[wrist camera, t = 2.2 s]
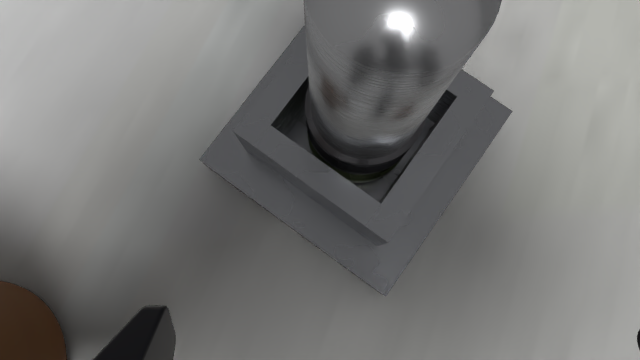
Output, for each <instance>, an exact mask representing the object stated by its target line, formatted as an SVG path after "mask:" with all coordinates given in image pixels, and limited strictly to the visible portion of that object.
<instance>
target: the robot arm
mask: <svg viewBox="0 0 640 360" xmlns="http://www.w3.org/2000/svg"><path fill="white" fill-rule="evenodd" d="M637 342H638V347H639V350H640V330H639V332H638V335H637ZM175 343H176V335H175V330H174V327H173V323H172V319H171V316H170V312H169V309H168V308H167V307H166V306H163V305H149V306H145V307H143V308H142V309H141V310H140V311H139V312H138V313H137V314H136V315H135V316H134V317H133V318H132V319H131V320H130V321H129V322H128V323H127V324H126V325H125V326H124V327H123V329H122V330H121V331H120V332H119V333H118V334H117V335H116V336H115V337H114V338H113V339H112V340H111V341H110V342H109V343H108V344H107V345H106V347H105V348H104V349H103V350H102V351H101V352H100V353H99V354H98V355H97V356H96V357H95V358H94V359H93V360H173V356H174V350H175Z"/></svg>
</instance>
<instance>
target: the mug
mask: <svg viewBox="0 0 640 360" xmlns="http://www.w3.org/2000/svg"><path fill="white" fill-rule="evenodd" d="M0 360H67V357H66V346H65V341H64V336H63V333H62V331H61V328H60V325H59V323H58V321H57V319H56V317H55V316H54V314H53V313H52V311H51V310H50V309H49V307H48V306H47V305H46V304H45V303H44V302H43V301H42V300H41V299H40V298H38V297H37V296H36V295H35V294H33V293H32V292H30V291H28V290H26V289H25V288H22V287H20V286H17V285H15V284H11V283H8V282H3V281H0Z"/></svg>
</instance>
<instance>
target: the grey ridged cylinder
mask: <svg viewBox="0 0 640 360" xmlns="http://www.w3.org/2000/svg"><path fill="white" fill-rule="evenodd" d="M501 1H502V0H304V12H305V28H306V44H307V60H308V76H309V85H308V88H307V91H306V97H305V114H306V124H307V134H308V142H309V147H310V150H311V152H312V154H313V156H315V157H316V158H318V159H319V160H320V161H322V162H323V163H325V164H326V165H327V166H329V167H330V168H332V169H333V170H334V171H336V172H337V173H339V174H340V175H341V176H343V177H344V178H346V179H347V180H349V181H350V182H352V183H364V182H370V181H374V180H376V179H379V178H381V177H383V176H385V175H386V174H388V173H389V172H390V171H392V170H393V169H394V168H395V167H396V165H397V164H398V163H399V162H400V161H401V159H402V158H403V157H404V155H405V154H406V153H407V152H408V150H409V149H410V148H411V146H412V145H413V144H414V143H415V141H416V140H417V139H418V137H419V135H420V134H421V132H422V130H423V127H424V124H425V121H426V117H427V115H428V114H429V113H430V111H431V110H432V109H433V107H434V106H435V104H436V103H437V102H438V100H439V99H440V98H441V96H442V95H443V93H444V92H445V91H446V89H447V88H448V87H449V85H450V84H451V82H452V81H453V80H454V78H455V77H456V76H457V74H458V73H459V72H460V70H461V69H462V67H463V66H464V65H465V63H466V62H467V61H468V59H469V58H470V56H471V55H472V54H473V52H474V51H475V50H476V48H477V47H478V45H479V44H480V43H481V41H482V40H483V39H484V37H485V36H486V34H487V33H488V31H489V30H490V28H491V26H492V25H493V23H494V21H495V19H496V16H497V14H498V12H499V8H500V5H501Z"/></svg>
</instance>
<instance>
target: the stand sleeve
mask: <svg viewBox="0 0 640 360" xmlns="http://www.w3.org/2000/svg"><path fill="white" fill-rule="evenodd" d="M308 85H309V76H308V60H307V44H306V28H305V26H304V27H303V28H302V29H301V31H300V32H299V33H298V34H297V36H296V37H295V38H294V40H293V41H292V42H291V43H290V45H289V46H288V47H287V48H286V50H285V51H284V52H283V54H282V55H281V56H280V57H279V59H278V60H277V61H276V62H275V64H274V65H273V66H272V68H271V69H270V70H269V71H268V73H267V74H266V75H265V76H264V78H263V79H262V80H261V82H260V83H259V84H258V85H257V87H256V88H255V89H254V91H253V92H252V93H251V94H250V96H249V97H248V98H247V99H246V101H245V102H244V103H243V105H242V106H241V107H240V108H239V110H238V111H237V112H236V113H235V115H234V116H233V117H232V119H231V120H230V121H229V122H228V124H227V125H226V126H225V127H224V129H223V130H222V131H221V133H220V134H219V135H218V136H217V138H216V139H215V140H214V141H213V143H212V144H211V145H210V147H209V148H208V149H207V150H206V152H205V153H204V154H203V156H202V157H201V158H200V159H199V160H200V161H201V162H203V163H204V164H205V165H206V166H207V167H209V168H210V169H211V170H213V171H214V172H215V173H217V174H218V175H220V176H221V177H222V178H224V179H225V180H226V181H228V182H229V183H230V184H232V185H233V186H235V187H236V188H237V189H239V190H240V191H241V192H243V193H244V194H245V195H247V196H248V197H250V198H251V199H252V200H254V201H255V202H256V203H258V204H259V205H261V206H262V207H263V208H265V209H266V210H267V211H269V212H270V213H271V214H273V215H274V216H276V217H277V218H278V219H280V220H281V221H282V222H284V223H285V224H286V225H288V226H289V227H291V228H292V229H293V230H295V231H296V232H297V233H299V234H300V235H301V236H303V237H304V238H306V239H307V240H308V241H310V242H311V243H312V244H314V245H315V246H316V247H318V248H319V249H321V250H322V251H323V252H325V253H326V254H327V255H329V256H330V257H331V258H333V259H334V260H336V261H337V262H338V263H340V264H341V265H342V266H344V267H345V268H347V269H348V270H349V271H351V272H352V273H353V274H355V275H356V276H357V277H359V278H360V279H362V280H363V281H364V282H366V283H367V284H368V285H370V286H371V287H372V288H374V289H375V290H377V291H378V292H379V293H381V294H382V295H384V296H386V295H387V294H388V292H389V291H390V289H391V288H392V287H393V285H394V284H395V282H396V281H397V279H398V278H399V276H400V275H401V273H402V272H403V271H404V269H405V268H406V266H407V265H408V263H409V262H410V260H411V259H412V257H413V256H414V254H415V253H416V252H417V250H418V249H419V247H420V246H421V244H422V243H423V241H424V240H425V238H426V237H427V235H428V234H429V233H430V231H431V230H432V228H433V227H434V225H435V224H436V222H437V221H438V219H439V218H440V216H441V215H442V214H443V212H444V211H445V209H446V208H447V206H448V205H449V203H450V202H451V200H452V199H453V197H454V196H455V195H456V193H457V192H458V190H459V189H460V187H461V186H462V184H463V183H464V181H465V180H466V178H467V177H468V176H469V174H470V173H471V171H472V170H473V168H474V167H475V165H476V164H477V162H478V161H479V159H480V158H481V157H482V155H483V154H484V152H485V151H486V149H487V148H488V146H489V145H490V143H491V142H492V140H493V139H494V138H495V136H496V135H497V133H498V132H499V130H500V129H501V127H502V126H503V124H504V123H505V121H506V120H507V119H508V117H509V116H510V114H511V113H512V111H511V110H510V109H508V108H507V107H505V106H504V105H502V104H501V103H499V102H498V101H496V100H495V99H493V98H492V97H490V96H491V94H492V93H493V92H494V91H493V90H492V89H490V88H489V87H487V86H486V85H484V84H483V83H481V82H480V81H478V80H477V79H475V78H474V77H472V76H471V75H469V74H468V73H466V72H465V71H463V70H462V69H461V70H460V72H459V73H458V74H457V76H456V77H455V78H454V80H453V81H452V82H451V84H450V85H449V87H448V88H447V89H446V91H445V92H444V93H443V95H442V96H441V98H440V99H439V100H438V102H437V103H436V104H435V106H434V107H433V109H432V110H431V111H430V113H429V114H428V115H427V117H426V121H425V124H424V127H423V130H422V132H421V134H420V135H419V137H418V139H417V140H416V141H415V143H414V144H413V145H412V146H411V148H410V149H409V150H408V152H407V153H406V154H405V155H404V157H403V158H402V159H401V161H400V162H399V163H398V164H397V165H396V167H395V168H394V169H393V170H392V171H390V172H389V173H388V174H386V175H385V176H383V177H381V178H379V179H376V180H374V181H370V182H364V183H352V182H350V181H349V180H347V179H346V178H344V177H343V176H341V175H340V174H339V173H337V172H336V171H334V170H333V169H332V168H330V167H329V166H327V165H326V164H325V163H323V162H322V161H320V160H319V159H318V158H316V157H315V156H313V154H312V152H311V150H310V147H309V142H308V134H307V124H306V114H305V97H306V91H307V88H308Z"/></svg>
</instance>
